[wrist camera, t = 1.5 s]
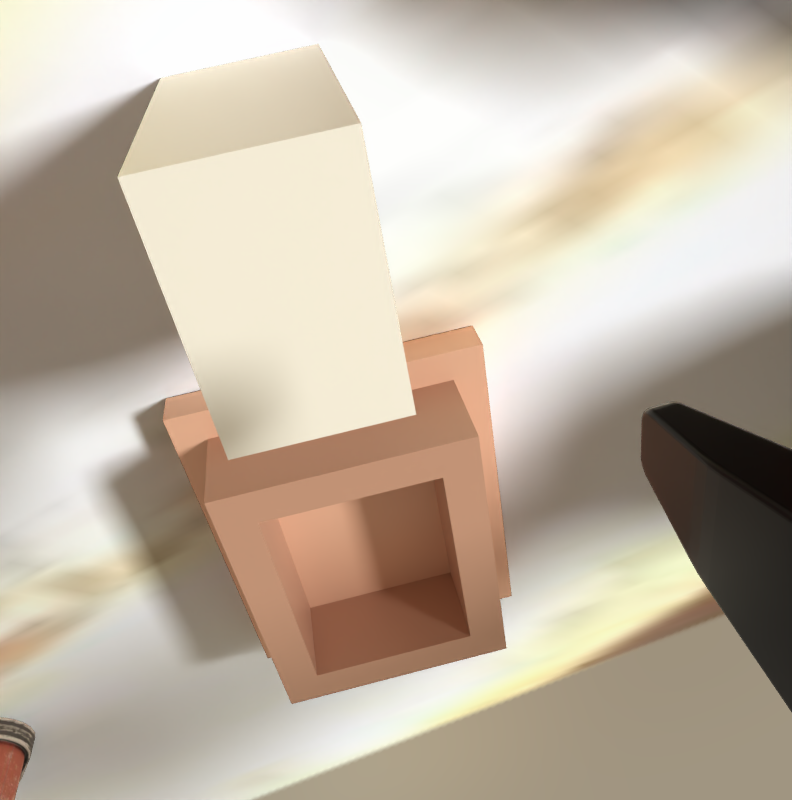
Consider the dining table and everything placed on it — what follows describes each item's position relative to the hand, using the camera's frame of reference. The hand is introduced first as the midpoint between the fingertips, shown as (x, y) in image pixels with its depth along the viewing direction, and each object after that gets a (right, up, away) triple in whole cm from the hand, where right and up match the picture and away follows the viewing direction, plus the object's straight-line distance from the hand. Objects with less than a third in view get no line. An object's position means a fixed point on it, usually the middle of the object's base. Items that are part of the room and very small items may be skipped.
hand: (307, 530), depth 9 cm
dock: (0, -2, +18) cm, 18 cm away
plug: (-2, +8, +11) cm, 14 cm away
